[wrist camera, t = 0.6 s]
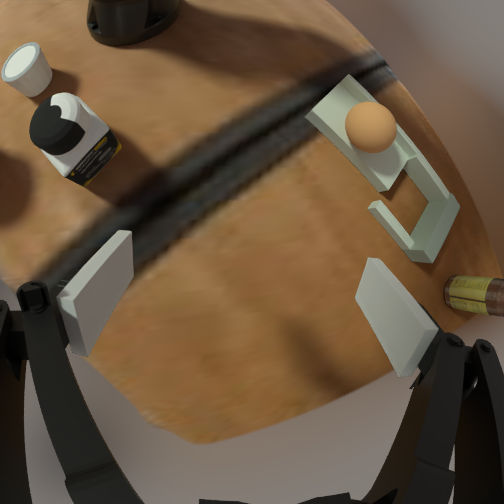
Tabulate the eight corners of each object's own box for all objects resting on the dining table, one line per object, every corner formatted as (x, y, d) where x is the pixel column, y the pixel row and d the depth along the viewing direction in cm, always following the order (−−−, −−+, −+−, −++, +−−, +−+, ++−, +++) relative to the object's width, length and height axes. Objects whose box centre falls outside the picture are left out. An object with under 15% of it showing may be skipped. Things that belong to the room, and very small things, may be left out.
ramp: (290, 131, 37) (303, 118, 32) (335, 86, 38) (350, 72, 33) (411, 261, 42) (432, 263, 37) (440, 208, 43) (460, 206, 38)
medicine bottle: (85, 188, 32) (43, 167, 20) (56, 155, 30) (12, 126, 19) (123, 147, 32) (97, 108, 21) (92, 116, 31) (60, 73, 19)
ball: (333, 108, 35) (359, 86, 28) (374, 118, 37) (403, 101, 30) (337, 154, 35) (365, 139, 29) (379, 162, 37) (410, 150, 30)
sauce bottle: (460, 302, 45) (540, 320, 26) (441, 310, 44) (527, 333, 24) (460, 270, 45) (544, 279, 25) (442, 275, 43) (533, 288, 24)
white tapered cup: (63, 70, 29) (48, 46, 23) (35, 106, 29) (14, 87, 22) (40, 59, 28) (24, 37, 21) (14, 93, 28) (-6, 74, 21)
